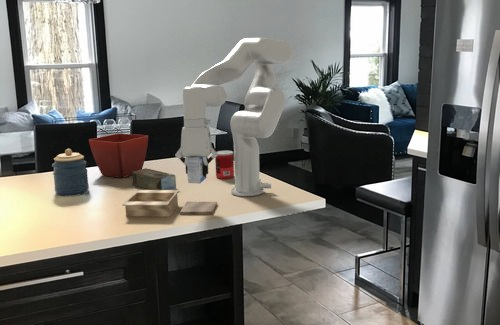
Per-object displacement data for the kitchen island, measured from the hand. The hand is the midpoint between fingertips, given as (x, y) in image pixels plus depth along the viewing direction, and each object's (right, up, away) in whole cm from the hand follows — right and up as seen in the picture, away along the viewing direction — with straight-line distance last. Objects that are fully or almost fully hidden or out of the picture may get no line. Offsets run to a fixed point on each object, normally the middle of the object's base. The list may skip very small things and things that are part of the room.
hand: (197, 175), depth 186 cm
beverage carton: (-21, -6, +35) cm, 41 cm away
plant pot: (-40, -1, +58) cm, 71 cm away
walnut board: (0, -12, +3) cm, 12 cm away
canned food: (+7, -2, +48) cm, 49 cm away
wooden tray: (-16, -12, +2) cm, 20 cm away
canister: (-53, -8, +29) cm, 60 cm away
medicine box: (0, -2, 0) cm, 2 cm away
